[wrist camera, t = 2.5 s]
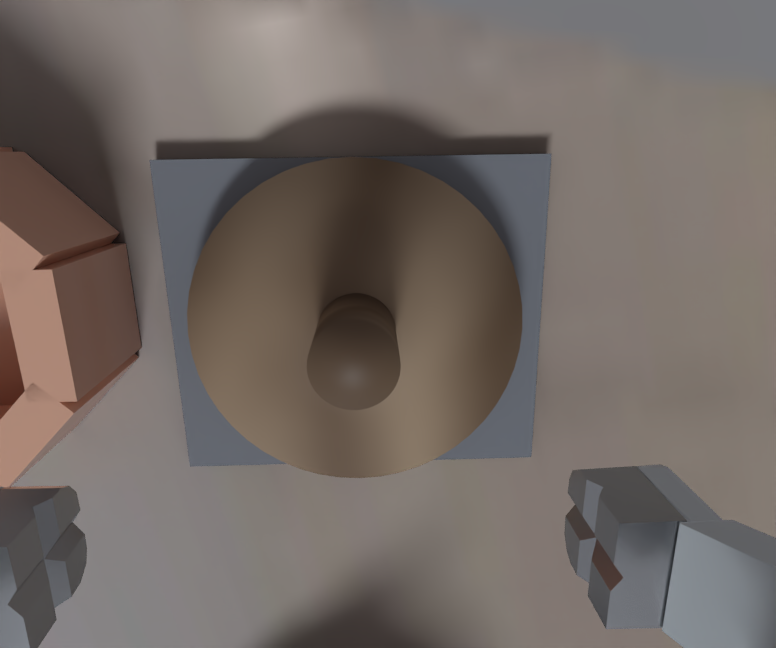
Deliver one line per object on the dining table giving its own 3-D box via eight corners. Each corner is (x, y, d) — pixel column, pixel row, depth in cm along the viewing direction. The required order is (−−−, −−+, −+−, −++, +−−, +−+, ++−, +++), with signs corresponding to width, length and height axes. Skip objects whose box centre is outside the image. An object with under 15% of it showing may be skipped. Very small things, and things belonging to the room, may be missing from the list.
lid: (523, 155, 20) (570, 154, 15) (505, 458, 23) (539, 533, 19) (179, 158, 19) (119, 159, 15) (213, 465, 23) (174, 543, 18)
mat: (546, 153, 20) (551, 153, 20) (527, 449, 24) (531, 457, 23) (155, 159, 20) (149, 159, 19) (194, 458, 23) (190, 466, 23)
